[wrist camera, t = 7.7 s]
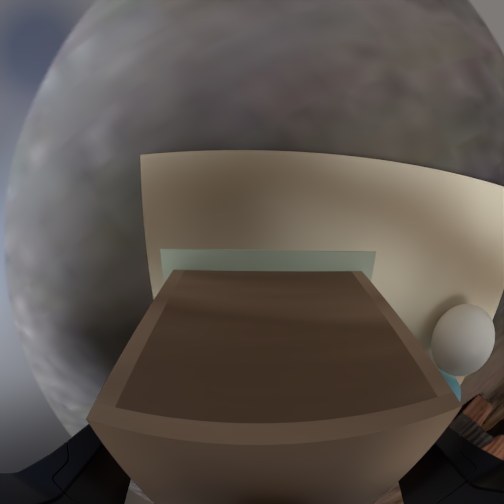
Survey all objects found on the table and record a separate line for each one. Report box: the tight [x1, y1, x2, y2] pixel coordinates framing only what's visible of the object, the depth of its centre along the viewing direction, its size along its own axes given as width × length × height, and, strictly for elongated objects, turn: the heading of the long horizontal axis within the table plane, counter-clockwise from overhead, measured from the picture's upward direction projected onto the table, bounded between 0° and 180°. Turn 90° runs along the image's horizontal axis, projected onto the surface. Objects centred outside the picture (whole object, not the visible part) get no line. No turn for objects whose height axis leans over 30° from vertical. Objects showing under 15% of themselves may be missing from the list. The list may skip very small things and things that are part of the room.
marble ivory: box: [431, 304, 495, 376], centre depth 8 cm, size 3×3×3 cm
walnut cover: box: [86, 270, 462, 504], centre depth 7 cm, size 9×6×7 cm
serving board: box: [140, 150, 504, 385], centre depth 11 cm, size 19×16×1 cm
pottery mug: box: [448, 394, 504, 460], centre depth 13 cm, size 12×9×8 cm
